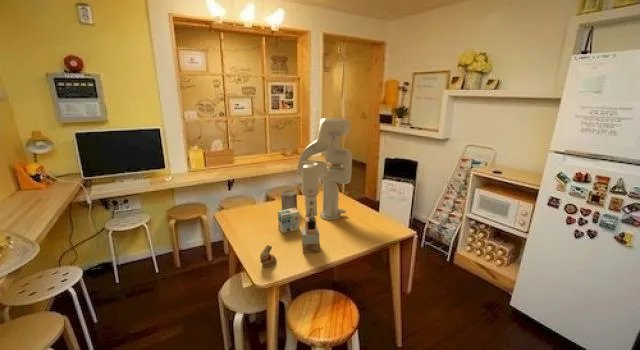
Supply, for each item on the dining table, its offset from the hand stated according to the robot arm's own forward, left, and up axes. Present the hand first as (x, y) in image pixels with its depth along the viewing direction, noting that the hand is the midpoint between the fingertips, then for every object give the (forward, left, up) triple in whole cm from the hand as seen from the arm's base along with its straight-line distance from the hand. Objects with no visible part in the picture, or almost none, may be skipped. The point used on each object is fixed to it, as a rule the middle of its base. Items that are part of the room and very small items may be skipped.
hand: (310, 224), depth 138 cm
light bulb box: (+10, -22, -13) cm, 28 cm away
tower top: (0, 0, -8) cm, 8 cm away
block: (0, 0, -3) cm, 3 cm away
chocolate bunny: (+20, +11, -13) cm, 26 cm away
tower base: (0, 0, -13) cm, 13 cm away
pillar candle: (+9, -44, -13) cm, 47 cm away
